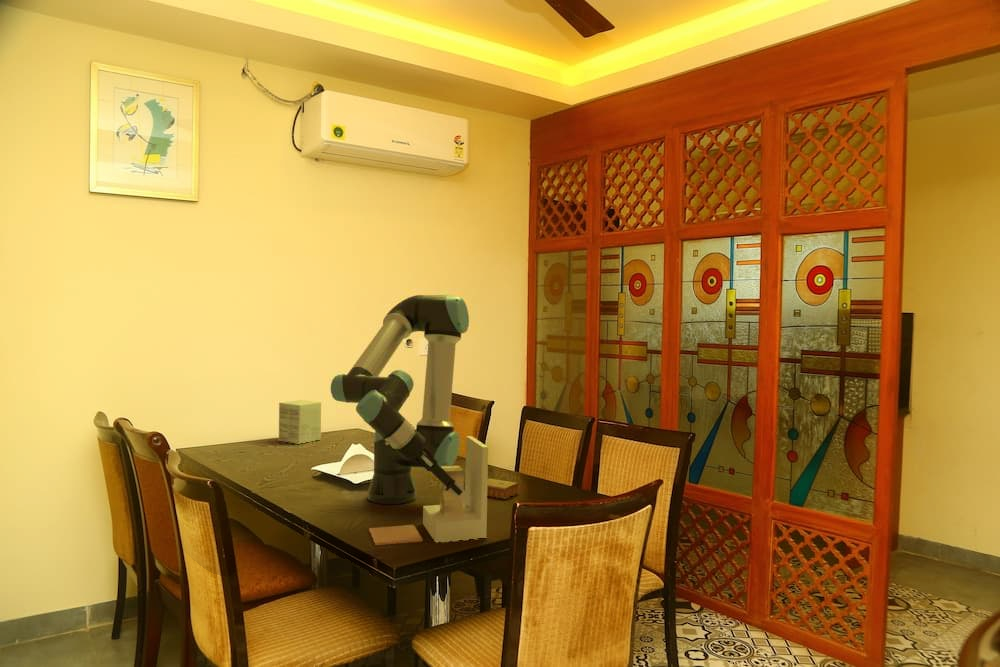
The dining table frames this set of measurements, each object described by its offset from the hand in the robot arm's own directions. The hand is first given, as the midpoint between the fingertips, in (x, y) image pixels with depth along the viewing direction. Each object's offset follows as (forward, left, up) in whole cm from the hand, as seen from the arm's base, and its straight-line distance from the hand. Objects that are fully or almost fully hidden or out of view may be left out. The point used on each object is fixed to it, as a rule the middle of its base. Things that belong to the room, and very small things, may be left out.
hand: (464, 497), depth 180 cm
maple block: (0, -4, -4) cm, 5 cm away
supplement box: (-138, -39, -9) cm, 144 cm away
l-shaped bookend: (0, -3, -9) cm, 9 cm away
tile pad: (0, -19, -9) cm, 21 cm away
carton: (-34, +18, -9) cm, 40 cm away
